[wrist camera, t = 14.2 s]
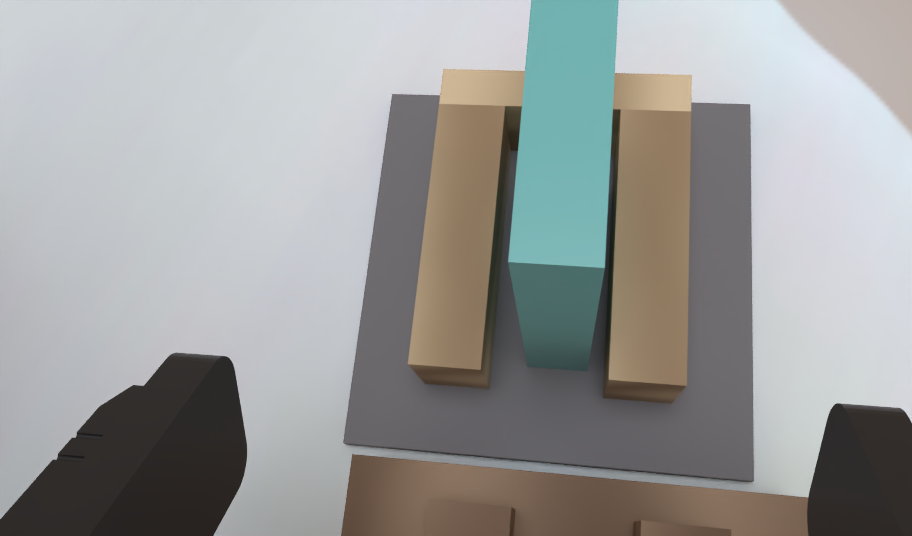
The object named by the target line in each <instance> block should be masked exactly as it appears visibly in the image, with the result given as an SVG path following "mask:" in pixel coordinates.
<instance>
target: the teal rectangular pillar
mask: <svg viewBox="0 0 912 536" xmlns="http://www.w3.org/2000/svg"><path fill="white" fill-rule="evenodd" d="M617 17H618V0H531V10H530V22H529V33H528V44H527V55H526V67H525V78H524V89H523V101H522V112H521V123H520V134H519V146H518V157H517V168H516V180H515V191H514V202H513V213H512V225H511V236H510V247H509V259H508V264H509V269H510V275H511V280H512V286H513V291H514V296H515V302H516V307H517V313H518V318H519V324H520V329H521V334H522V340H523V345H524V351H525V356H526V362H527V367H539V368H552V369H564V370H577V371H587V369H588V363H589V357H590V351H591V346H592V340H593V334H594V328H595V322H596V316H597V310H598V305H599V299H600V293H601V287H602V281H603V275H604V270H605V254H606V234H607V214H608V194H609V175H610V155H611V135H612V116H613V96H614V76H615V57H616V37H617Z"/></svg>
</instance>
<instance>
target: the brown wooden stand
mask: <svg viewBox="0 0 912 536" xmlns="http://www.w3.org/2000/svg"><path fill="white" fill-rule="evenodd" d="M807 506H808V498H806V497H796V496H785V495H775V494H764V493H754V492H743V491H733V490H722V489H712V488H701V487H691V486H680V485H669V484H659V483H648V482H638V481H627V480H617V479H606V478H596V477H585V476H575V475H564V474H554V473H543V472H533V471H522V470H511V469H501V468H490V467H480V466H469V465H459V464H448V463H438V462H427V461H417V460H406V459H396V458H385V457H375V456H364V455H354V454H352V461H351V468H350V476H349V483H348V490H347V498H346V505H345V512H344V520H343V527H342V534H341V536H809V535H808V526H807Z"/></svg>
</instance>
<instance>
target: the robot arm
mask: <svg viewBox="0 0 912 536" xmlns="http://www.w3.org/2000/svg"><path fill="white" fill-rule="evenodd" d="M246 460H247V443H246V436H245V430H244V424H243V418H242V412H241V405H240V399H239V393H238V387H237V381H236V375H235V370H234V366H233V363H232V361H231V360H230V359H229V358H228V357H226V356H213V355H200V354H186V353H173V354H171V355H170V356H169V357H168V358H167V359H166V360H165V361H164V362H163V364H162V365H161V366H160V367H159V368H158V370H157V371H156V372H155V373H154V374H153V376H152V377H151V378H150V379H149V380H148V382H147V383H146V384H145V385H144V386H137V385H133V386H131V387H130V388H128V389H126V390H125V391H123V392H122V393H120V394H119V395H117V396H115V397H114V398H112V399H111V400H109V401H108V402H106V403H104V404H103V405H101V406H100V407H99V408H98V409H97V410H96V411H95V412H94V413H93V415H92V416H91V417H90V418H89V419H88V420H87V421H86V423H85V424H84V425H83V426H82V427H81V428H80V429H79V431H78V432H77V436H76V438H72V439H71V440H70V441H69V442H68V443H67V444H66V445H65V447H64V448H63V449H62V450H61V451H60V452H59V453H58V458H57V460H52V461H51V462H50V464H49V465H48V466H47V467H46V468H45V469H44V470H43V472H42V473H41V474H40V475H39V476H38V477H37V478H36V480H35V481H34V482H33V483H32V484H31V485H30V486H29V488H28V489H27V490H26V491H25V492H24V493H23V494H22V495H21V497H20V498H19V499H18V500H17V501H16V502H15V503H14V505H13V506H12V507H11V508H10V509H9V510H8V511H7V513H6V514H5V515H4V516H3V517H2V518H1V519H0V536H213V535H214V533H215V531H216V530H217V528H218V526H219V524H220V522H221V520H222V519H223V517H224V515H225V513H226V511H227V509H228V508H229V506H230V504H231V502H232V500H233V499H234V497H235V495H236V493H237V491H238V489H239V487H240V485H241V482H242V479H243V476H244V472H245V467H246ZM807 526H808V535H809V536H912V423H911V421H910V419H909V417H908V416H907V414H906V413H905V412H904V411H903V410H902V409H900V408H891V407H878V406H864V405H851V404H835V405H834V406H833V407H832V409H831V411H830V413H829V416H828V419H827V423H826V427H825V431H824V435H823V439H822V443H821V448H820V452H819V456H818V460H817V464H816V468H815V472H814V476H813V480H812V484H811V488H810V492H809V497H808V506H807Z"/></svg>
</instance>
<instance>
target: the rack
mask: <svg viewBox="0 0 912 536" xmlns="http://www.w3.org/2000/svg"><path fill="white" fill-rule="evenodd" d="M524 78H525V71H500V70H458V69H443V76H442V84H441V93H440V101H439V109H438V118H437V126H436V134H435V142H434V151H433V159H432V167H431V176H430V184H429V192H428V201H427V209H426V217H425V226H424V234H423V242H422V251H421V259H420V267H419V275H418V284H417V292H416V300H415V309H414V317H413V325H412V334H411V342H410V350H409V359H408V365H409V366H410V367H411V368H412V369H413V371H414V372H415V373H416V374H417V375H418V376H419V378H420V379H421V380H422V381H423V382H424V383H425V384H435V385H447V386H460V387H472V388H484V389H490V378H491V367H492V355H493V344H494V333H495V322H496V310H497V299H498V288H499V276H500V265H501V254H502V243H503V231H504V220H505V209H506V198H507V186H508V175H509V164H510V153H511V151H518V146H519V134H520V123H521V112H522V101H523V89H524ZM691 84H692V75H667V74H625V73H615V76H614V96H613V116H612V135H611V155H614V169H613V191H612V213H611V234H610V256H609V277H608V299H607V320H606V342H605V364H604V385H603V398H608V399H620V400H633V401H645V402H657V403H670V404H672V403H673V402H674V400H675V399H676V398H677V397H678V396H679V395H680V393H681V392H682V391H683V390H684V389H685V387H686V386H687V347H688V281H689V216H690V150H691Z"/></svg>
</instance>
